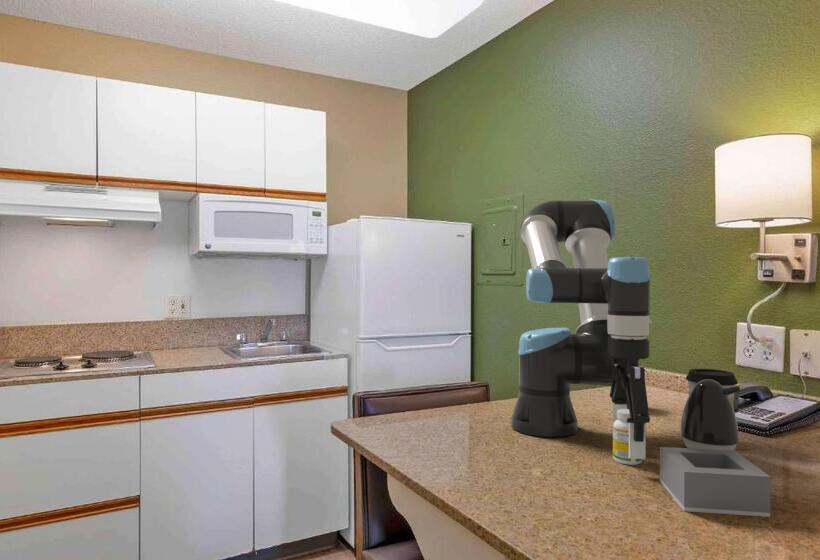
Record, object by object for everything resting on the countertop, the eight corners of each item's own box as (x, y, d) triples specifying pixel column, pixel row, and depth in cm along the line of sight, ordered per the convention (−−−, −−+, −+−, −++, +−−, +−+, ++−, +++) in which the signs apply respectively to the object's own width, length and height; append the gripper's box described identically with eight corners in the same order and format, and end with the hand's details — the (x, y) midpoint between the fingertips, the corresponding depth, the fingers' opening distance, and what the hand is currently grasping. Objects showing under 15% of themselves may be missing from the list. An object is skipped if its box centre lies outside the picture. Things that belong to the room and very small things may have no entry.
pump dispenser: (739, 468, 99) (740, 386, 99) (677, 457, 105) (678, 380, 105) (740, 452, 108) (740, 378, 108) (682, 444, 113) (683, 372, 113)
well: (684, 511, 81) (684, 471, 81) (659, 481, 93) (660, 446, 93) (770, 516, 79) (770, 476, 79) (734, 485, 91) (734, 450, 91)
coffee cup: (745, 449, 110) (745, 377, 110) (693, 446, 112) (694, 375, 112) (726, 435, 119) (727, 369, 119) (679, 432, 121) (680, 367, 121)
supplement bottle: (618, 465, 100) (619, 414, 100) (608, 455, 106) (608, 407, 106) (647, 465, 100) (647, 415, 100) (635, 456, 106) (635, 407, 106)
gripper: (669, 345, 90) (669, 470, 90) (632, 330, 115) (631, 428, 115) (623, 344, 91) (622, 467, 91) (595, 330, 116) (595, 427, 116)
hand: (627, 446), depth 103 cm, fingers open, 13 cm apart
